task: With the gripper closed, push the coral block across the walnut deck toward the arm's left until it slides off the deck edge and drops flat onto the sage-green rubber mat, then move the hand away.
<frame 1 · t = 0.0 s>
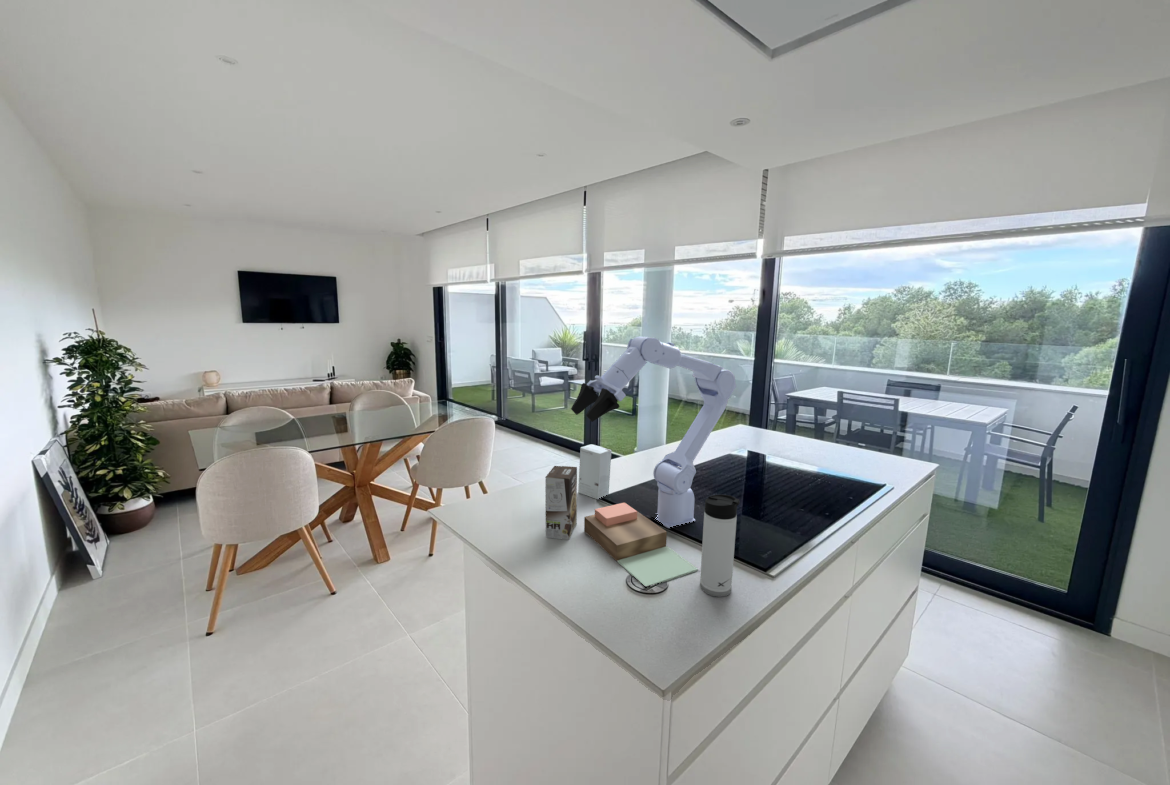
hand: (581, 415, 106), 32 cm above the table, tool tilted 50°, fingers open, 7 cm apart
walnut deck: (623, 538, 114), on the table
sage mat: (657, 566, 102), on the table
coffee box: (561, 531, 118), on the table
skincare box: (594, 494, 142), on the table
travel mug: (716, 589, 94), on the table
coral block: (615, 517, 117), point 4 cm above the table, touching walnut deck
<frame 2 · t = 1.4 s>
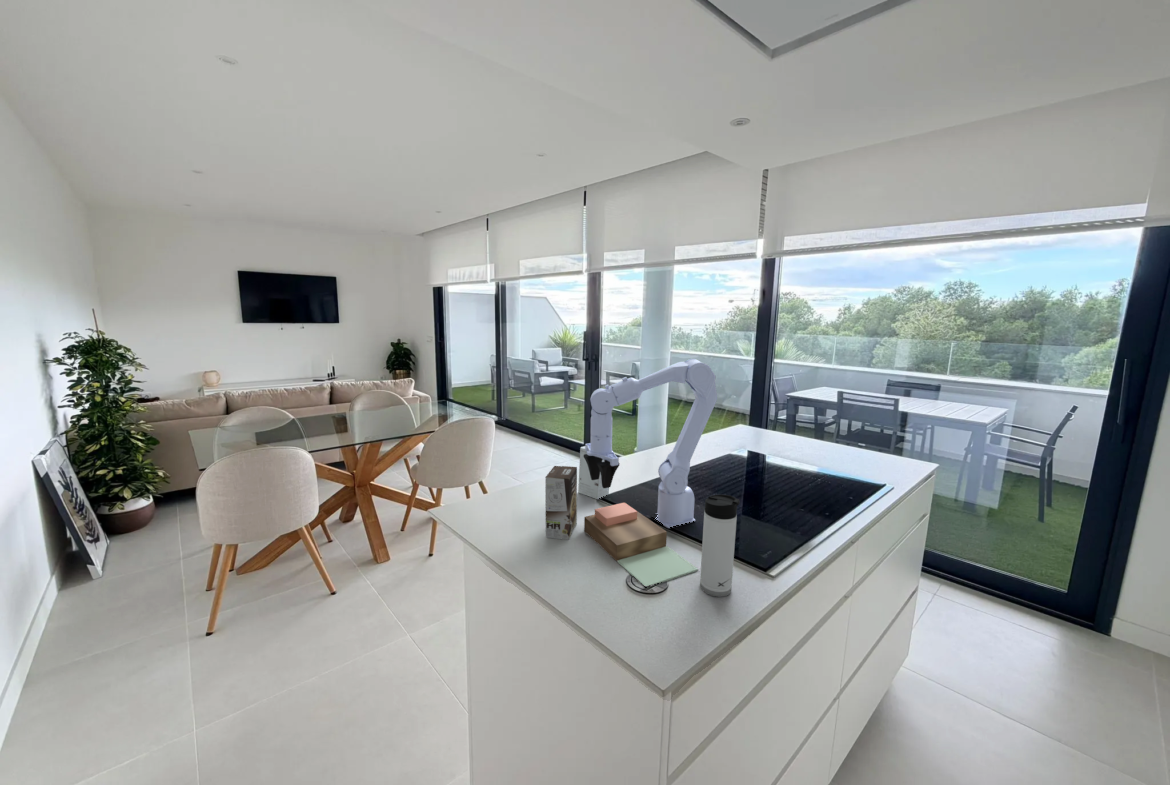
hand: (600, 483, 123), 10 cm above the table, tool pointing down, fingers open, 6 cm apart
nothing on the table moved.
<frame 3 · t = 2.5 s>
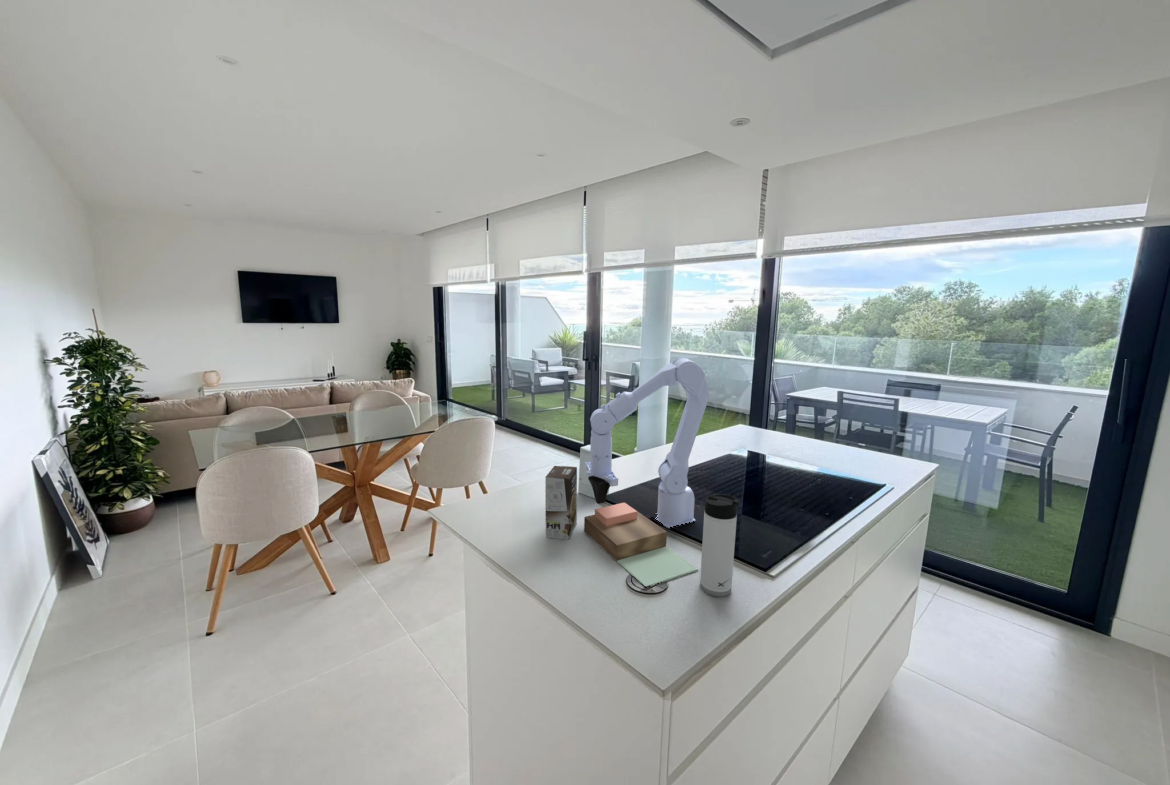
hand: (600, 502, 124), 5 cm above the table, tool pointing down, fingers closed
nothing on the table moved.
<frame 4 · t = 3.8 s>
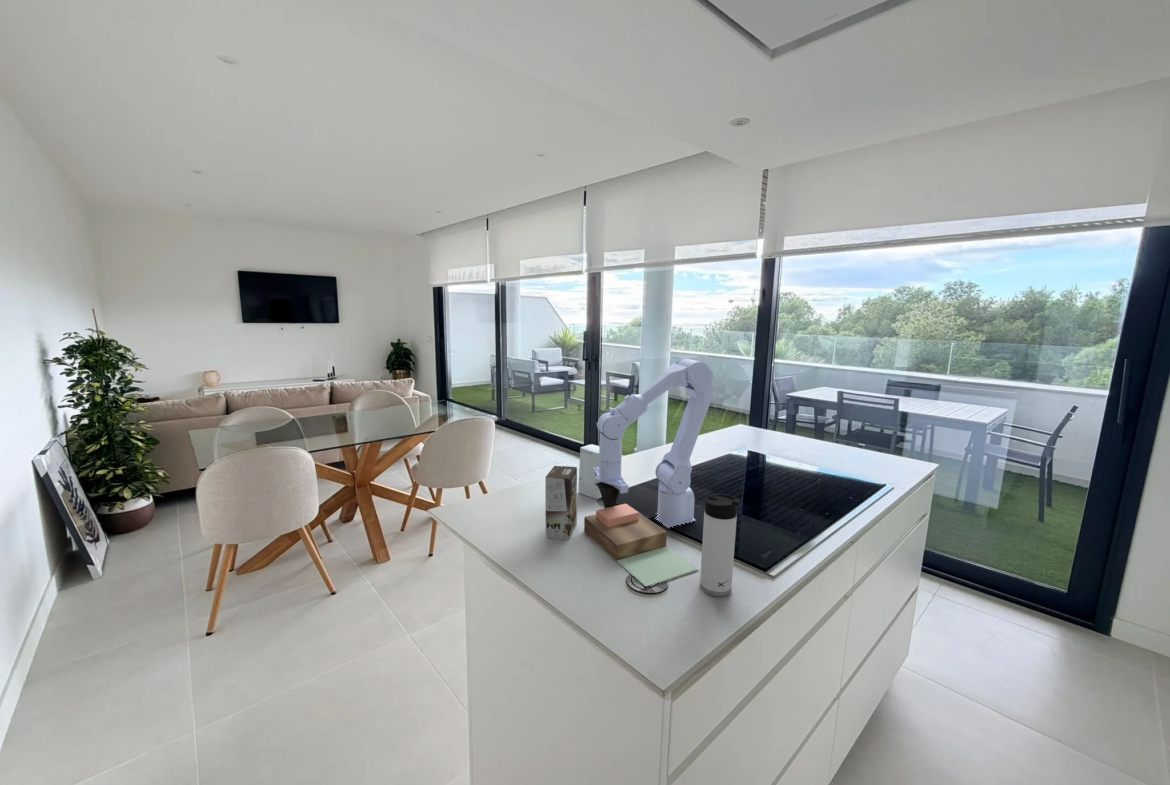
hand: (609, 509, 120), 5 cm above the table, tool pointing down, fingers closed
coral block: (617, 518, 116), point 4 cm above the table, touching gripper, walnut deck
everything else where it was.
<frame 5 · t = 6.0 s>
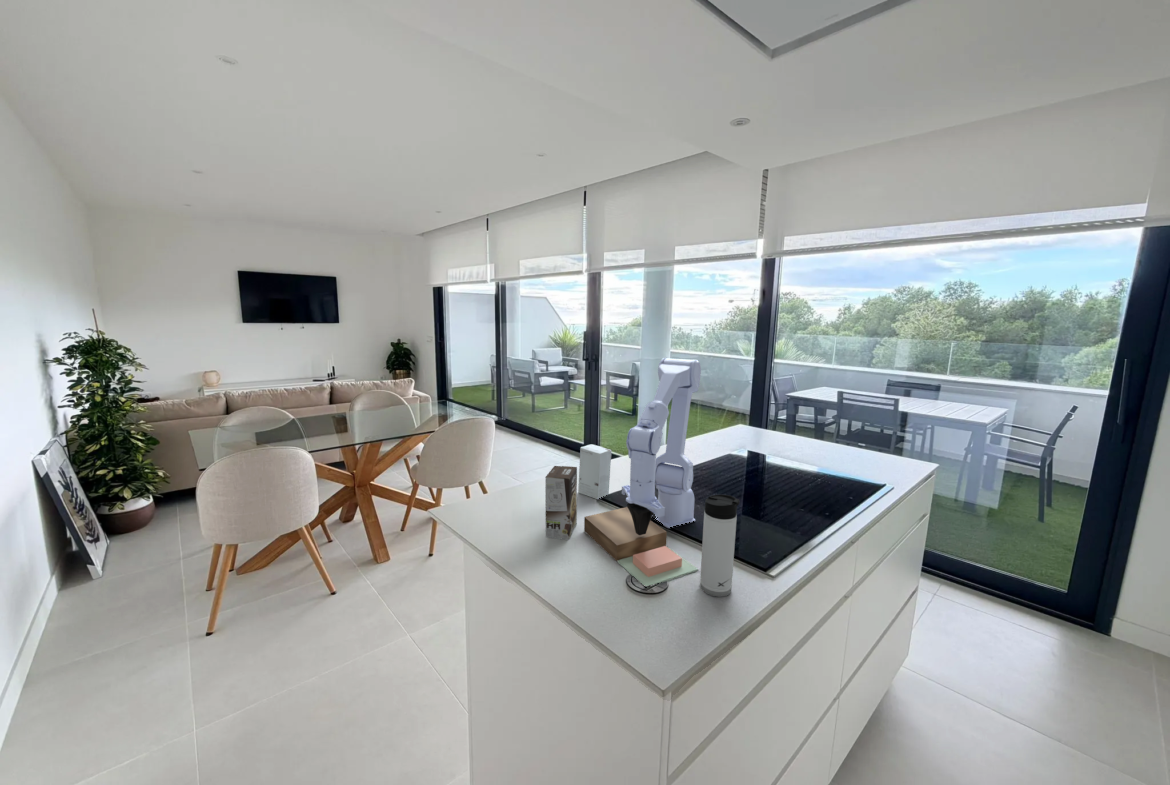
hand: (640, 533, 107), 5 cm above the table, tool pointing down, fingers closed
coral block: (657, 556, 102), point 2 cm above the table, tilted 180°, touching sage mat
everything else where it was.
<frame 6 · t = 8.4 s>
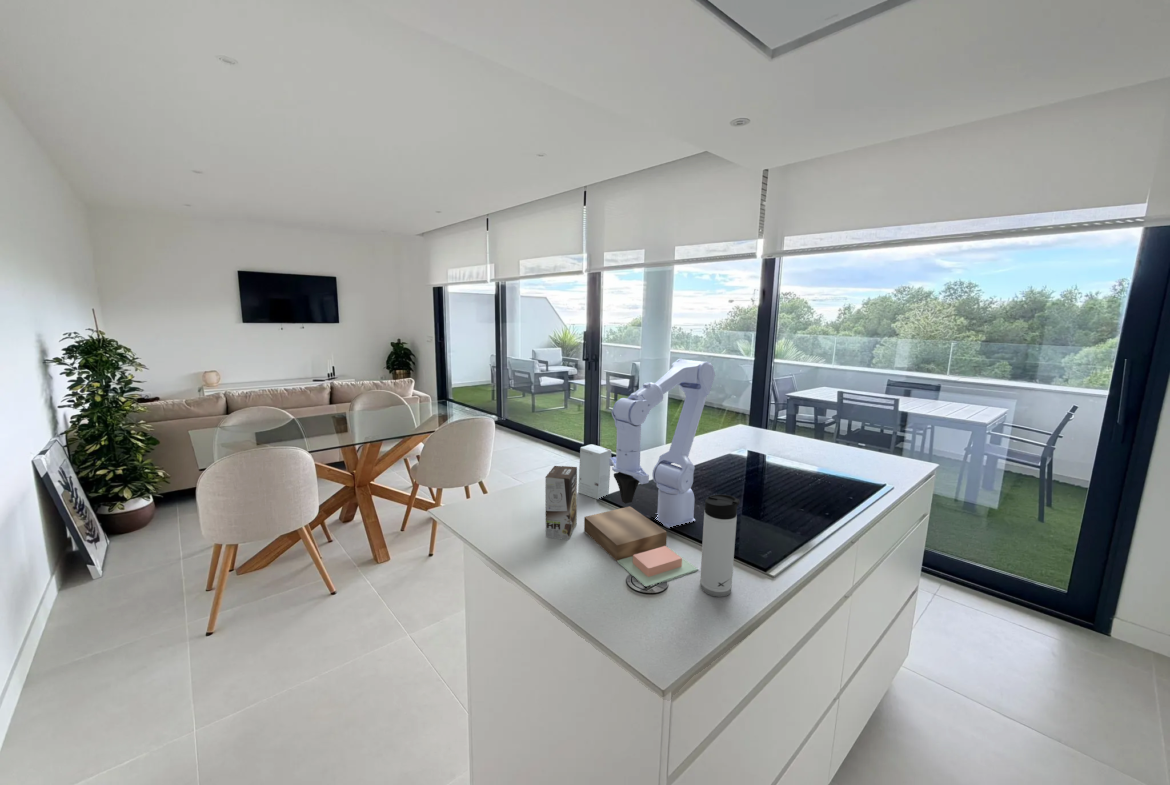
hand: (627, 501, 112), 10 cm above the table, tool pointing down, fingers closed
nothing on the table moved.
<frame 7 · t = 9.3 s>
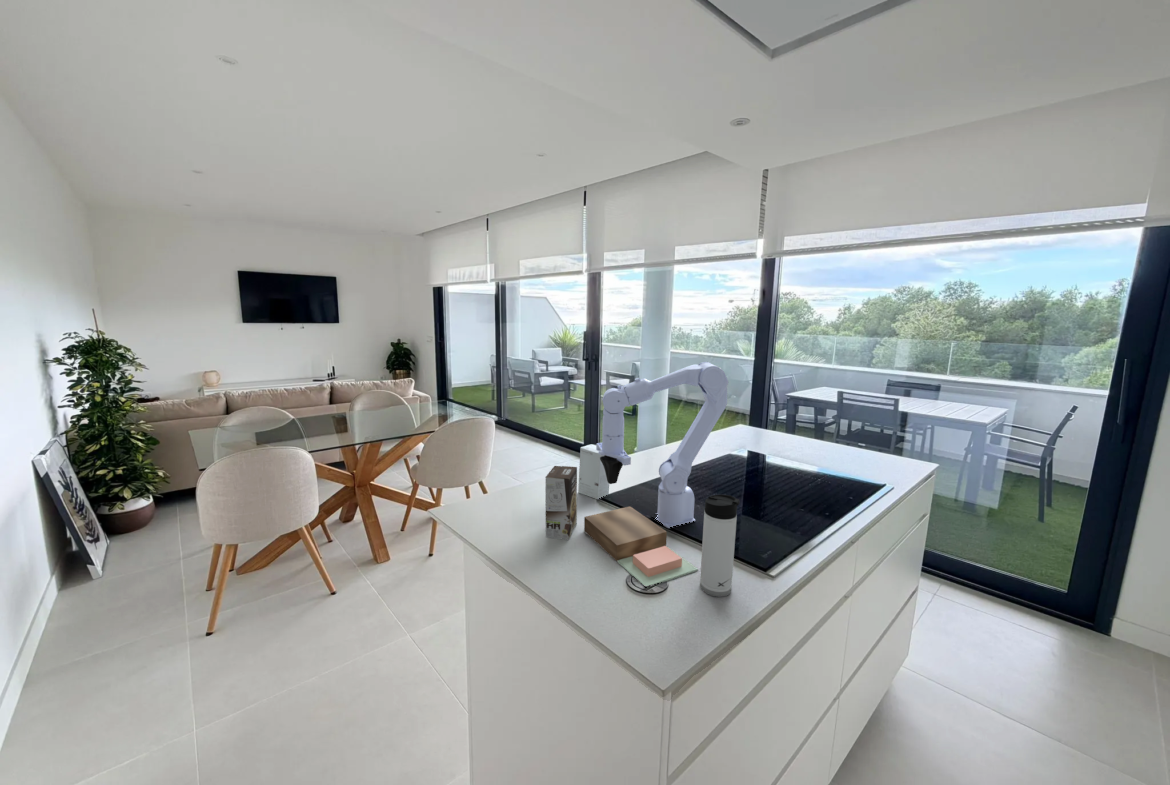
hand: (612, 482, 123), 10 cm above the table, tool pointing down, fingers closed
nothing on the table moved.
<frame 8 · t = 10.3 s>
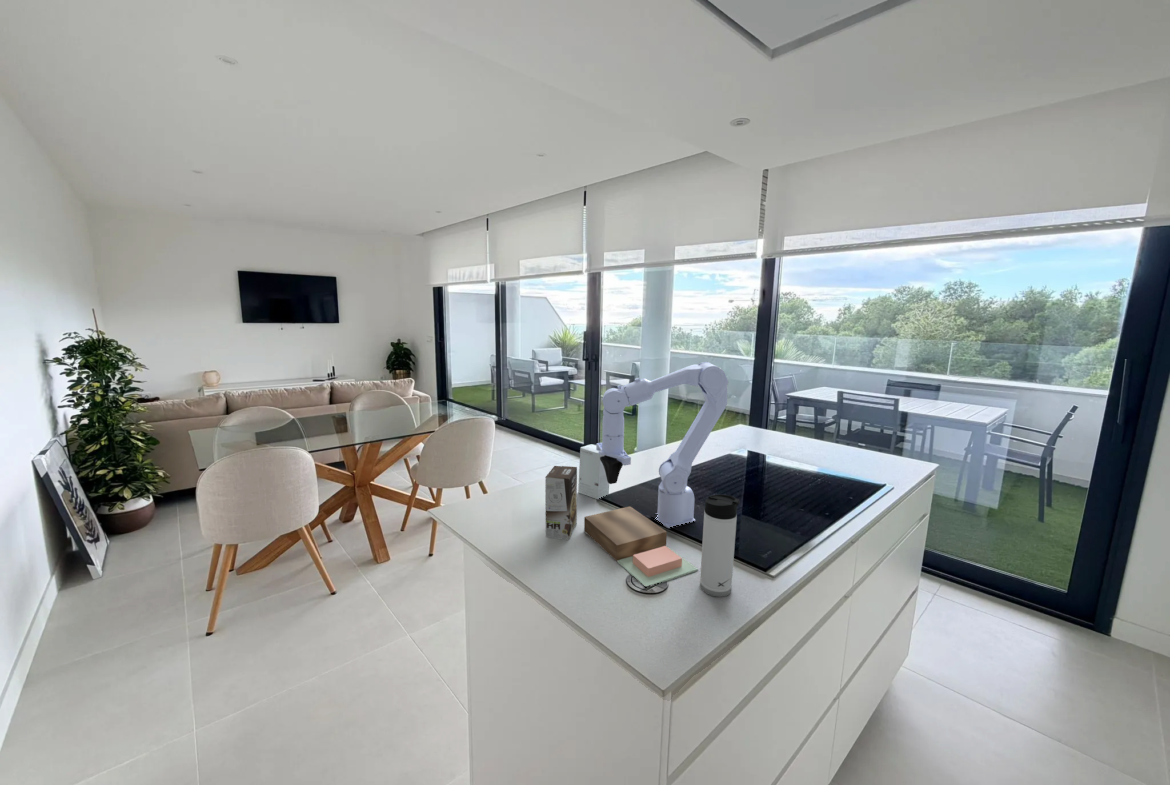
hand: (612, 482, 123), 10 cm above the table, tool pointing down, fingers closed
nothing on the table moved.
at the end: coral block inside the target area (0.4 cm from its centre), point 2.4 cm above the table; coral block point 2.4 cm above the table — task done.
